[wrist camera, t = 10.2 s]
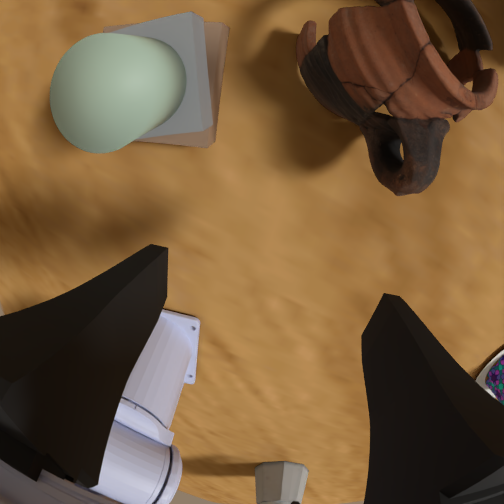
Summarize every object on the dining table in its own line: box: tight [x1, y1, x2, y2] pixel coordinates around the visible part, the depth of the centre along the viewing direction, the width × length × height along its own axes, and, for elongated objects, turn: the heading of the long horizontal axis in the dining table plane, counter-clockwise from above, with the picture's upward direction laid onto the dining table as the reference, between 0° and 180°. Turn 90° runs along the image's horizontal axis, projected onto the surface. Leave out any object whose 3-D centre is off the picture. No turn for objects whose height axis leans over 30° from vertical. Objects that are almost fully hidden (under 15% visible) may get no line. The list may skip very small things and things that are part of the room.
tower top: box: [110, 12, 213, 140], centre depth 14 cm, size 6×6×2 cm
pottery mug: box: [296, 0, 498, 196], centre depth 13 cm, size 12×10×8 cm
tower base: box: [103, 22, 230, 148], centre depth 16 cm, size 7×7×2 cm
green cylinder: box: [50, 33, 187, 153], centre depth 11 cm, size 5×5×4 cm
